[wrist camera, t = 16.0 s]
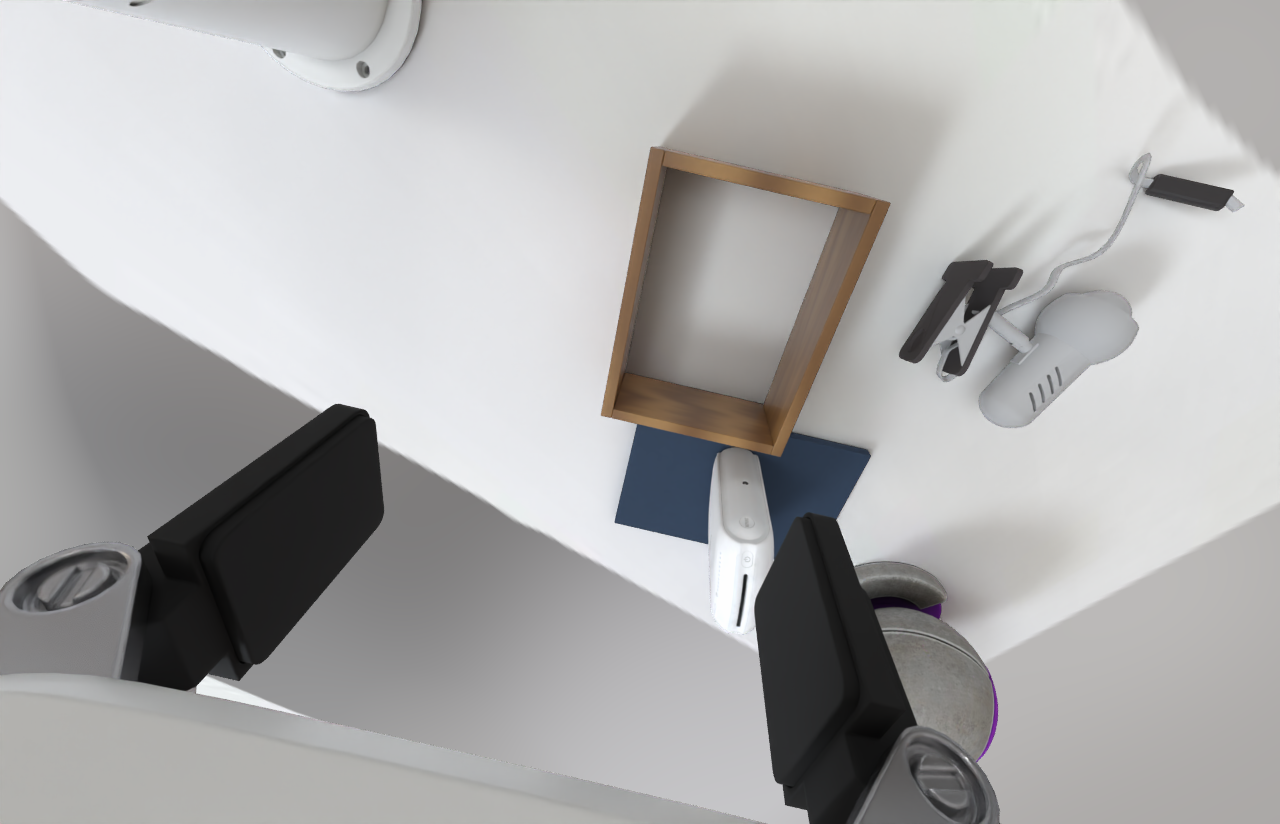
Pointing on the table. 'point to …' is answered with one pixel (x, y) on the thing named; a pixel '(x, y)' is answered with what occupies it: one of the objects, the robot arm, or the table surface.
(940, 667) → the webcam
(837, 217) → the wooden box
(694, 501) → the mat
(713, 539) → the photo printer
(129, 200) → the table surface
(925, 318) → the clip-on lamp
